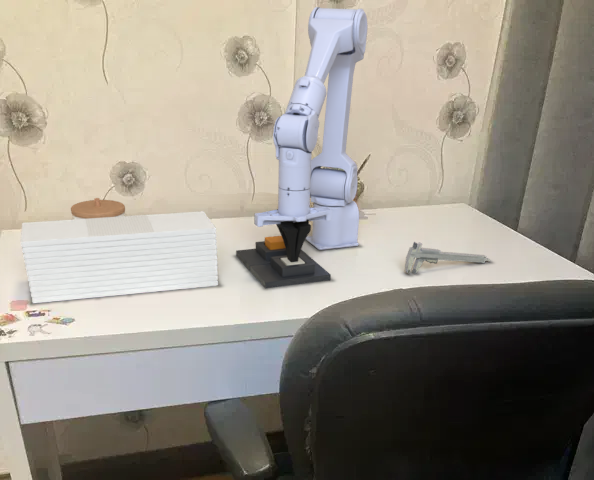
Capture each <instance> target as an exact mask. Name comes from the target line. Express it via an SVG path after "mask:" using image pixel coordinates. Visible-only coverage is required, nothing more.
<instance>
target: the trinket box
mask: <svg viewBox="0 0 594 480" xmlns="http://www.w3.org/2000/svg"><path fill="white" fill-rule="evenodd" d="M70 213H71V215H72V220H73V219H89V218H105V217H121V216H126V206H125V204H124V203H123V202H120V201H117V200H111V199H100V198H99V197H95V198H93V199H90V200H84V201H81V202H77V203H75V204H73V205H71V207H70Z"/></svg>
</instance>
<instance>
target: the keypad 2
mask: <svg viewBox="0 0 594 480" xmlns="http://www.w3.org/2000/svg"><path fill="white" fill-rule="evenodd" d="M281 258H287V255H284V256H275V257H271V264H262V265H253V266H250V271H249V272H250V273H251V274H252V275H253V276H254V277H255V279H256V280H257V281H258V282H259V283H260V284H261V285H262V286H263V288H264V289H271V288H280V287H288V286H296V285H304V284H313V283H320V282H328V281H331V278H332V277H331V275H332V274H331V273H329V271H327V270H326V269H325V268H324V267H323V266H322V265H320V264H319V263H318V262H317V261H315V259H314V258H312V259H308V258H307V257H306V256H304V255H303V254H299V258H300V259H302V260H303V261H304V262H305V264H297V265H288V266H286V265H285V264H284V263H283V262H282V261H281Z"/></svg>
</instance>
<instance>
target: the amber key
mask: <svg viewBox="0 0 594 480" xmlns="http://www.w3.org/2000/svg"><path fill="white" fill-rule="evenodd" d="M264 241H265V246H266V247H267V248H268V249H269V250H273V249H283V248H285V244H284V241H283V238H282V236H281V235H275V236H265V237H264Z"/></svg>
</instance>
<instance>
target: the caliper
mask: <svg viewBox="0 0 594 480" xmlns="http://www.w3.org/2000/svg"><path fill="white" fill-rule="evenodd" d="M422 246H423V242H415V241H413V244H412V246H410V247H409V248H408V251H407V254H406V257H405V264H404V272H405V273H407V274H410V272H411V273H412V274H414V275H416V274H417V273H418V272H419V271H420V268H421V267H422V265H423V263H424V262H427V263H428V264H435V265H436V264H438V261H449V262H464V263H478V264H485V263H486V262H490V261H491V259H490V258H489V257H487V255H485V254H477V253H465V252H451V251H441V250H440V249H438V248H428V247H422Z"/></svg>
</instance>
